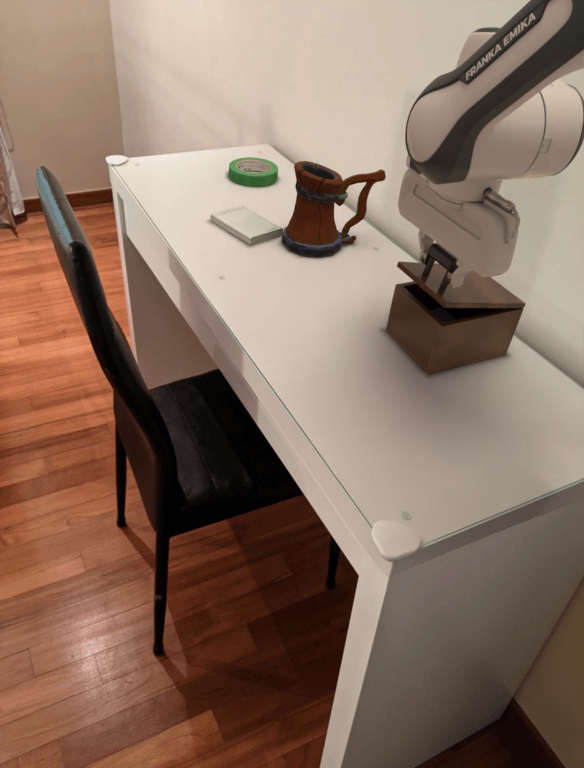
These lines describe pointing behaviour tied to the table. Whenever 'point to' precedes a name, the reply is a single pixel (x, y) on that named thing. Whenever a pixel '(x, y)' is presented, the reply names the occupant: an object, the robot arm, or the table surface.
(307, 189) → the mug
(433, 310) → the block
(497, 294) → the lid
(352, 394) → the table surface
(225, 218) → the hard drive
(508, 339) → the chest
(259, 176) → the tape roll
